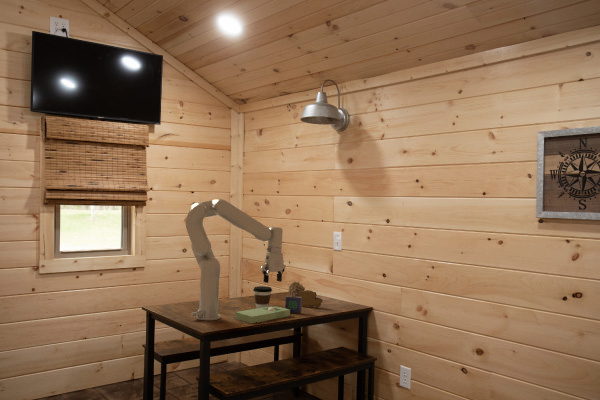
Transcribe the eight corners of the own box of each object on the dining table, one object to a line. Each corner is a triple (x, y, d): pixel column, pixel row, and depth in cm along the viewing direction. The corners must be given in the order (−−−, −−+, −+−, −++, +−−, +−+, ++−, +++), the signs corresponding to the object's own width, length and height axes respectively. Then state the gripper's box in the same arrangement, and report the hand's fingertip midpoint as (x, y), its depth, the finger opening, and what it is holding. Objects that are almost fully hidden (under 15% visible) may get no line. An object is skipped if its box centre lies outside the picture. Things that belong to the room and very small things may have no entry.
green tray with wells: (251, 323, 252) (251, 316, 252) (235, 318, 261) (235, 312, 261) (289, 315, 271) (290, 309, 271) (273, 311, 280) (273, 305, 281)
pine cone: (283, 295, 328) (284, 280, 329) (296, 294, 334) (296, 279, 334) (303, 302, 310) (303, 285, 310) (315, 300, 316) (316, 284, 316)
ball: (272, 318, 268) (270, 311, 267) (266, 316, 271) (264, 309, 270) (278, 313, 271) (275, 306, 270) (272, 311, 274) (270, 304, 273)
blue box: (301, 312, 280) (302, 293, 280) (300, 314, 277) (301, 294, 277) (285, 311, 282) (286, 292, 282) (284, 312, 279) (285, 293, 279)
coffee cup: (268, 311, 281) (269, 289, 281) (250, 310, 283) (250, 288, 283) (273, 307, 291) (274, 286, 291) (255, 306, 294) (256, 285, 294)
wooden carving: (323, 307, 296) (323, 290, 296) (321, 309, 292) (322, 291, 292) (296, 305, 300) (296, 288, 300) (294, 306, 296) (294, 289, 296)
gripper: (267, 251, 262) (265, 284, 262) (290, 250, 275) (288, 281, 275) (257, 249, 268) (255, 282, 267) (281, 249, 280) (279, 279, 280)
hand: (272, 281), depth 271 cm, fingers open, 9 cm apart
